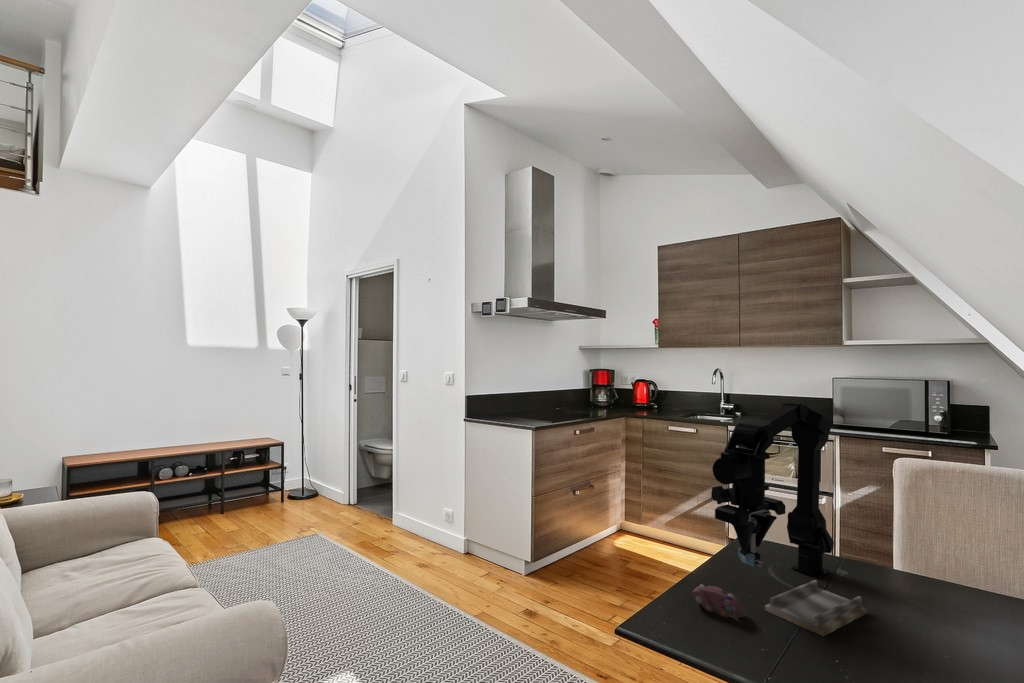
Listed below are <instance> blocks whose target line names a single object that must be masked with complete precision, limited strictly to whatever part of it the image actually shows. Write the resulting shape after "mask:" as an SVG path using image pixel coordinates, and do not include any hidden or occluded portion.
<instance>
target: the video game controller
mask: <svg viewBox="0 0 1024 683" xmlns="http://www.w3.org/2000/svg"><path fill="white" fill-rule="evenodd" d="M691 596H692V597H693V599H694V600H695V601H696V603H697V604H699V605H701V606H702V608H703V609H704V610H706V611H707V612H709V613H713V612H714V611H715V609H716V605H718V606H719V607H718V609H717V612H718V614H719V616H721V617H723V618H726V619H727V618H729V617H730V615H734V616H735V617H737V618H739V619H742V618H744V616H745V612H746V611H745V607H744V605H743V604H742V603H741V602H740V600H739V599H738V598H737V597H736V596H735V595H734V594H733V593H731V592H727V591H726V590H724V589H722V588H720V587H718V586H714V585H705V584H703V583H700V585H698V586H696V587H695V588H694V589H693V590H692V593H691Z"/></svg>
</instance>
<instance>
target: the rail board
mask: <svg viewBox="0 0 1024 683" xmlns="http://www.w3.org/2000/svg"><path fill="white" fill-rule="evenodd" d="M765 611H766V612H768V613H770V614H772V615H774V616H777V617H779V618H781V619H783V620H785V619H786V621H788V622H790V623H792V622H793V624H795V625H797V626H799V627H801V628H803V629H806V630H808V631H810V632H813V633H814V632H815V634H817V633H818V634H817V635H819V636H821V635H822V636H821V637H825V636H827V635H829V634H831V633H833V632H835V631H837V630H838V628H839V629H840V628H842V627H844V626H846V625H848V624H850V623H852V622H854V621H856V620H857V618H858V619H859V618H862V617H863V616H865V615H867V614H868V608H866V607H864V606H863V604H862V596H861V595H860V596H859V595H858V596H856V597H853V598H852V599H849V598H846V597H843V596H842V595H838V594H835V593H832V592H830V591H828V590H825V589H822V588H820V587H818V580H816V579H814V580H811V581H809V582H807V583H804V584H801V585H799V586H796V587H794V588H792V589H789V590H787V591H784V592H781V593H780V594H777V595H775V596H772V597H769V603H768V604H765V605H764V612H765ZM855 619H856V620H855ZM853 620H854V621H853ZM836 629H837V630H836Z"/></svg>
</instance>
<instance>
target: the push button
mask: <svg viewBox="0 0 1024 683" xmlns="http://www.w3.org/2000/svg"><path fill="white" fill-rule="evenodd" d="M750 522H753V523H755V526H754V529H753V533H752V536H751V539H750V542H749V546H748V548H747V550H746V551H745V550H742V549H741V546H740V547H738V549H737V550H738V551H737V552H738V554H737V558H738V560H740V561H741V562H742V563H744V564H747V565H749V566H750V567H751V568H753V567H759V568H764V566H763V565H762V564H764V561H761V553H759V552H758V551H757V548H756V547H757V546H756V541H755V535H756V534H757V533H759V528H761V524H760V523H759V522H757V521H756V519H755V518H753V517H750Z"/></svg>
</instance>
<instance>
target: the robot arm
mask: <svg viewBox="0 0 1024 683" xmlns="http://www.w3.org/2000/svg"><path fill="white" fill-rule="evenodd" d="M788 428H789V429H790V432H791V438H792V441H793V442H794V444H795V446H796V448H798V454H797V455H798V456H797V486H796V506H795V507H794V508H793V509H792V510H791V511H789V512H788V513H787V524H786V530H787V534H788V540H789V543H790V544H793V545H796V546H797V564H795V565H793V566H791V569H792V570H794V571H796V572H800V573H803V574H805V575H808V576H810V577H812V578H813V577H814V578H817V579H818V578H820V577H824V576H825V575H828V574H830V573H831V570H829V569H826V568H825V554H832V553H833V552H832V551H833V549H834V545H835V544H834V543H835V542H834V540H833V538H832V536H831V534H830V533H829V531H828V530H827V520H826V519H825V517H824V515H823V513H822V511H821V509H820V480H821V479H820V478H821V477H820V476H821V474H820V473H821V450H822V449H824V447H825V445H827V443H828V441H829V436H830V433H831V428H832V426H831V422H830V421H829V420H828V419H827V418H826V417H825V416H824V415H823V414H821V413H818V412H816V411H815V410H812V409H810V408H809V407H808V406H807V405H806V404H803V403H799V402H789V401H788V402H783V404H782V405H781V406H780V407H778V408H776V409H775V410H773V411H772V412H770V413H767V415H764V416H762V417H761V418H760V419H755V420H746V421H741V422H738V423H736V425H735V426H734V428H733V430H732V433H731V434H730V437H729V439H728V441H727V443H726V446H725V447H724V449H723V450H724V451H723V452H720V457H719V458H717V459H716V460H715V461H714V463H713V465H712V469H711V470H712V475H713V477H714V479H715V480H716V481H717V482H719V483H720V484H721V485H718V486H712V487H711V493H710V494H711V496H710V497H711V499H712V500H713V501H714V502H716V504H717V505H719V506H717V507H716V508H715V509H714V519H715V520H719V521H721V522H723V523H728V524H731V525H732V527H733V528H734V531H735V534H736V538H737V541H738V543H739V546H740V547H741V549H742V550H745V551H746V550H747V548H748V546H749V542H750V539H751V536H752V533H753V529H754V526H755V523H753V522H750V517H753V518H755V519H756V521H757V522H759V523H760V524H761V528H759V533H757V534H756V535H755V541H756V547H757V548H759V547H760V546H761V544H762V542H763V541H764V539H765V537H766V535H767V533H768V532H769V530H770V528H771V527H772V525H773V524H774V522H775V521H776V520H777V516H781V515H785V514H786V505H785V503H784V502H783V501H782V500H780V499H776V498H772V497H768V496H766V491H769V490H770V485H769V484H766V460H769V459H770V458H771V456H770V454H769V453H768V452H767V450H768V449H769V448H770V447H771V446H772V445H773V444H774V443H775V441H774V440H775V439H774V438H775V437H776V436H777V435H779V434H780V433H782V432H783V431H786V430H787V429H788ZM731 484H732V485H731ZM722 485H731V487H728V488H724V487H723V486H722ZM725 503H726V504H725ZM727 503H730V504H727ZM722 504H724V505H722ZM771 511H773V512H775V514H776V516H775V515H772V512H771Z"/></svg>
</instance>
